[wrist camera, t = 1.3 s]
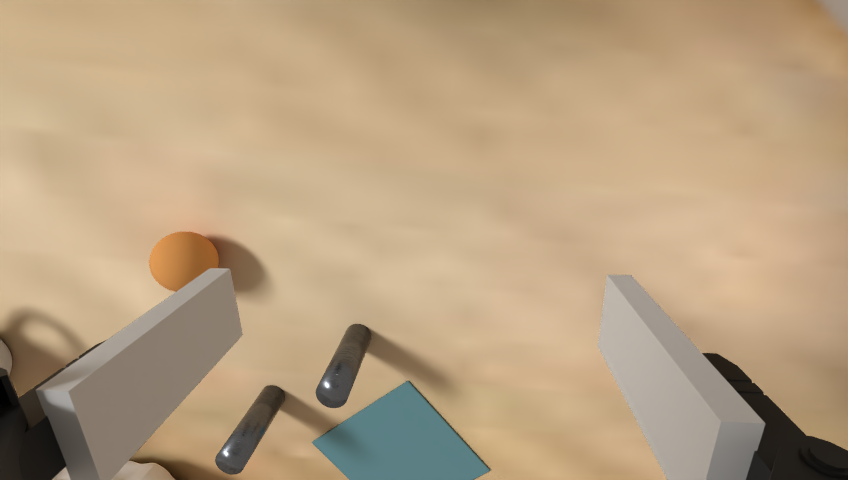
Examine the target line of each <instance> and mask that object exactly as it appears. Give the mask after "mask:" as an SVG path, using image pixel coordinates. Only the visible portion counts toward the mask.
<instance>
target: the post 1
mask: <svg viewBox="0 0 848 480" xmlns="http://www.w3.org/2000/svg"><path fill="white" fill-rule="evenodd" d="M284 400H285V394H284V392H283V391H282V390H281V389H280V388H279V387H277V386H272V385H270V386H266V387H265V388H264V389H263V390H262V392H261V393H260V394H259V396H258V397H257V399H256V400H255V402H254V403H253V404H252V406H251V407H250V409H249V410H248V412H247V413H246V414H245V416H244V417H243V419H242V420H241V422H240V423H239V424H238V426H237V427H236V429H235V430H234V432H233V433H232V434H231V436H230V437H229V439H228V440H227V442H226V443H225V444H224V446H223V447H222V449H221V450H220V452H219V453H218V454H217V456H216V459H215V461H216V465H217V466H218V468H219V469H220V470H221V471H223V472H225V473H227V474H238V473H240V472H241V471H242V470H243V469H244V467H245V465H246V464H247V462H248V460H249V459H250V457H251V455H252V454H253V452H254V450H255V449H256V447H257V445H258V444H259V442H260V440H261V439H262V437H263V435H264V434H265V432H266V430H267V429H268V427H269V425H270V424H271V422H272V420H273V419H274V417H275V415H276V414H277V412H278V411H279V409H280V407H281V406H282V404H283V402H284Z"/></svg>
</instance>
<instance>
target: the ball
mask: <svg viewBox="0 0 848 480" xmlns="http://www.w3.org/2000/svg"><path fill="white" fill-rule="evenodd" d="M218 265H219V257H218V253H217V250H216V248H215V247H214V245H213V244H212V243H211V242H210V241H209V240H208V239H207V238H205V237H204V236H202V235H200V234H197V233H193V232H177V233H173V234H170V235H168V236H166V237H164V238H163V239H162V240H160V241H159V242H158V243H157V244H156V245H155V247H154V248H153V250H152V252H151V255H150V260H149V266H150V270H151V273H152V275H153V277H154V279H155V280H156V281H157V282H158V283H159V284H160V285H162V286H163V287H165V288H167V289H169V290H172V291H176V292H177V291H178V290H179V289H181V288H182V287H184V286H185V285H187V284H188V283H189V282H191V281H192V280H194V279H195V278H197V277H198V276H200V275H201V274H202V273H204V272H205V271H207V270H208V269H210V268H218Z"/></svg>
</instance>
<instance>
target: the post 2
mask: <svg viewBox="0 0 848 480" xmlns="http://www.w3.org/2000/svg"><path fill="white" fill-rule="evenodd" d="M370 341H371V333H370V331H369V329H368V328H367V327H365V326H364V325H361V324H354V325H351V326H350V327H349V328H348V329H347V331H346V333H345V335H344V336H343V338H342V340H341V342H340V344H339V346H338V348H337V350H336V352H335V354H334V356H333V358H332V360H331V362H330V364H329V365H328V367H327V369H326V371H325V373H324V375H323V377H322V379H321V381H320V383H319V385H318V387H317V389H316V396H317V399H318V400H319V401H320V403H322V404H323V405H324V406H327V407H330V408H338V407H341V406H343V405H344V404H345V403H346V401H347V399H348V396H349V394H350V391H351V389H352V386H353V384H354V381H355V379H356V376H357V373H358V371H359V368H360V366H361V363H362V361H363V358H364V356H365V353H366V351H367V348H368V346H369V343H370Z"/></svg>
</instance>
